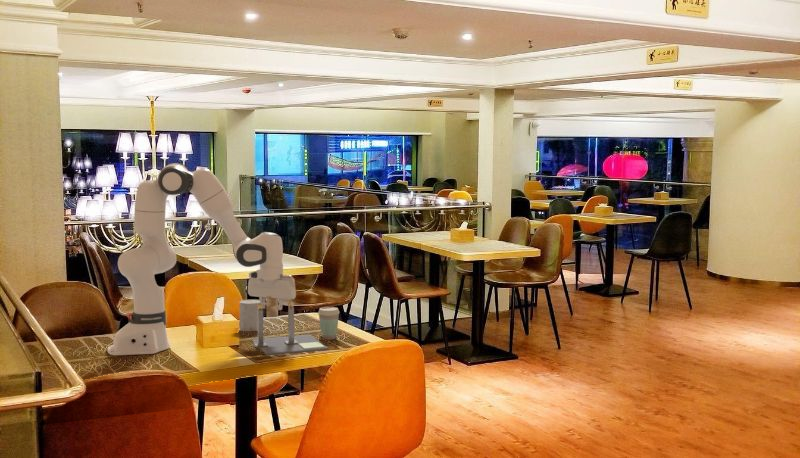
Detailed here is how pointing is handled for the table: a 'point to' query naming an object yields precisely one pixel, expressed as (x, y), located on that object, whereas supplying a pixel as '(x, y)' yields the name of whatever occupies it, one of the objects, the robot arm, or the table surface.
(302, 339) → the mat
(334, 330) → the coffee cup
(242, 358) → the table surface
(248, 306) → the grey canister
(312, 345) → the pad
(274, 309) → the block
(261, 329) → the gate
